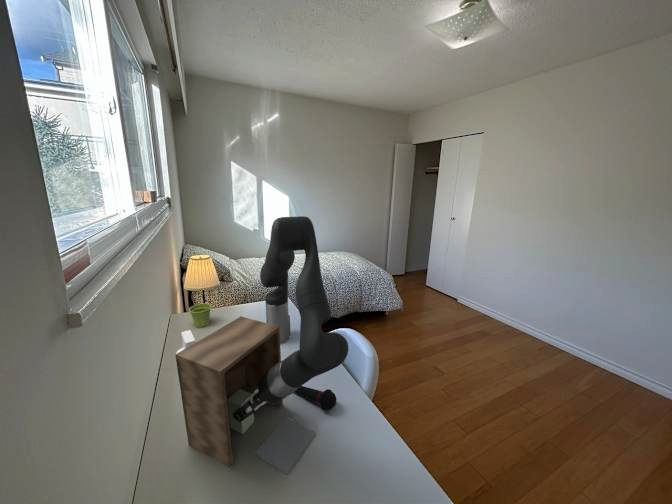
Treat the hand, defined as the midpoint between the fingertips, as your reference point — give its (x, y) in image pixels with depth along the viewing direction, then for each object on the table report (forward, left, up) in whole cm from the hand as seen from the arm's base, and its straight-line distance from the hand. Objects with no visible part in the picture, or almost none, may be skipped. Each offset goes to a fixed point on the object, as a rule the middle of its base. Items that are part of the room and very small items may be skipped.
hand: (247, 404), depth 72 cm
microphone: (-18, +8, -8) cm, 21 cm away
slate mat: (-1, +12, -7) cm, 14 cm away
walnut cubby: (0, -3, -7) cm, 8 cm away
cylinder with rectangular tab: (-8, -38, -8) cm, 40 cm away
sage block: (0, -2, -7) cm, 8 cm away
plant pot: (-29, -62, -8) cm, 69 cm away
